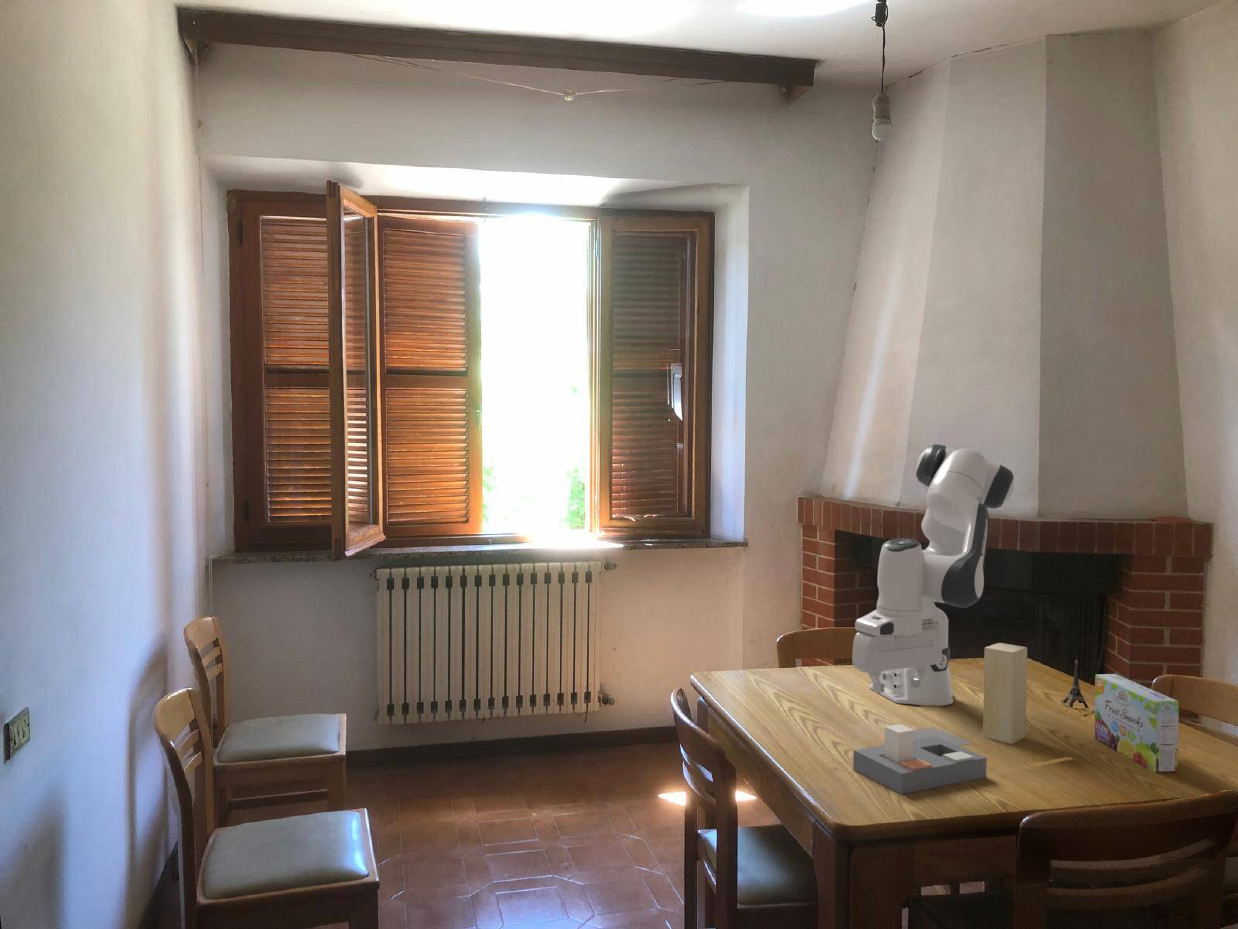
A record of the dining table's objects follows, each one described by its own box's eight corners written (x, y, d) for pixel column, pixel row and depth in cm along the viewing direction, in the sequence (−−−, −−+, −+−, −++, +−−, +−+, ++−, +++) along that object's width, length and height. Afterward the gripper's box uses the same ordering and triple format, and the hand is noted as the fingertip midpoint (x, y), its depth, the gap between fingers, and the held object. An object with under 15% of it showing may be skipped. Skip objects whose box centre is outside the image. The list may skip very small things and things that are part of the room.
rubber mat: (893, 736, 208) (893, 733, 208) (933, 729, 213) (933, 727, 213) (931, 753, 197) (931, 750, 197) (973, 746, 202) (973, 743, 202)
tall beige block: (993, 731, 213) (996, 641, 212) (1025, 738, 207) (1028, 647, 207) (978, 738, 207) (981, 646, 206) (1011, 747, 202) (1013, 652, 201)
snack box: (1091, 739, 208) (1093, 673, 207) (1115, 738, 208) (1117, 673, 208) (1153, 773, 187) (1156, 700, 186) (1179, 773, 187) (1182, 700, 187)
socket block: (853, 769, 187) (853, 747, 187) (935, 754, 196) (935, 734, 196) (901, 794, 174) (901, 771, 174) (986, 777, 183) (986, 755, 183)
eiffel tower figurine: (1084, 719, 224) (1085, 665, 224) (1043, 709, 232) (1044, 657, 231) (1110, 707, 234) (1111, 656, 233) (1070, 698, 241) (1071, 648, 241)
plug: (883, 775, 184) (884, 726, 183) (899, 772, 185) (900, 724, 185) (897, 782, 180) (898, 732, 180) (913, 779, 182) (914, 730, 181)
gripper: (928, 614, 189) (926, 680, 190) (848, 621, 181) (846, 690, 181) (950, 620, 183) (948, 688, 184) (869, 628, 175) (867, 699, 176)
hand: (897, 689), depth 183 cm, fingers open, 8 cm apart
